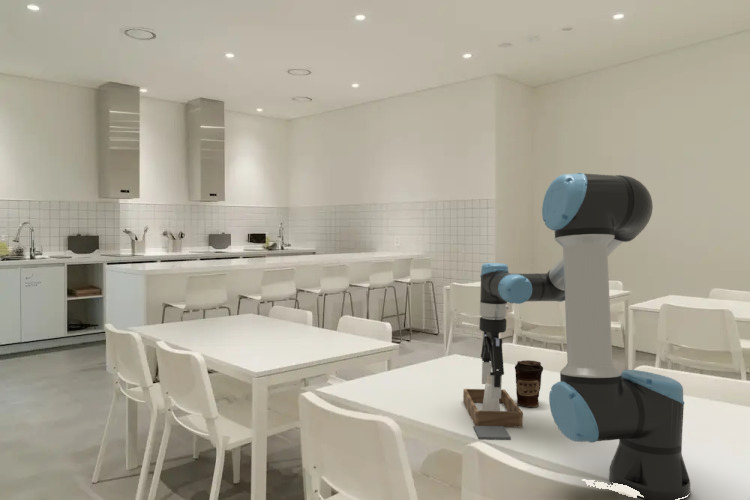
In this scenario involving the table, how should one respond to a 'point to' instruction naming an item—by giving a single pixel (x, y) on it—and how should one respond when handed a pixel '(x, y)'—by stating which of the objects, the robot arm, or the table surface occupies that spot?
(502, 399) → the tray
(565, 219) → the robot arm
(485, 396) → the salt shaker
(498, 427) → the mat
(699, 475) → the table surface
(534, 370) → the coffee cup
